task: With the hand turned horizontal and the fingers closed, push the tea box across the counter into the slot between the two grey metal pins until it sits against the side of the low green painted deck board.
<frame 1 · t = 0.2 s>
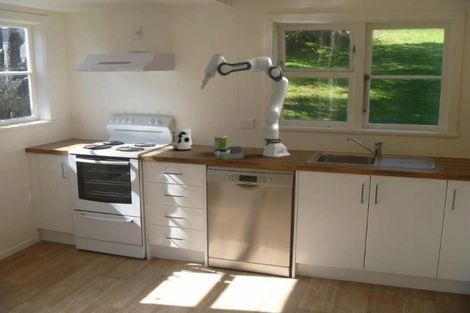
hand: (201, 88, 360), 54 cm above the worktop, tool tilted 30°, fingers open, 8 cm apart
milk container: (182, 150, 398), on the worktop
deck: (231, 158, 358), on the worktop
tea box: (222, 154, 376), on the worktop
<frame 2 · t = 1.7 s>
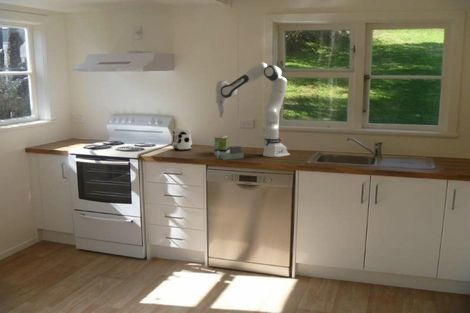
hand: (221, 117, 383), 30 cm above the worktop, tool pointing down, fingers open, 8 cm apart
nothing on the worktop moved.
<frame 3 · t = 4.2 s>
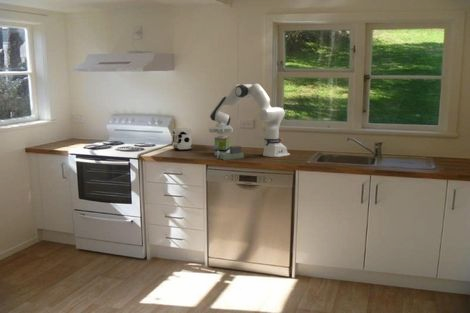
hand: (221, 131, 385), 18 cm above the worktop, tool horizontal, fingers closed
nothing on the worktop moved.
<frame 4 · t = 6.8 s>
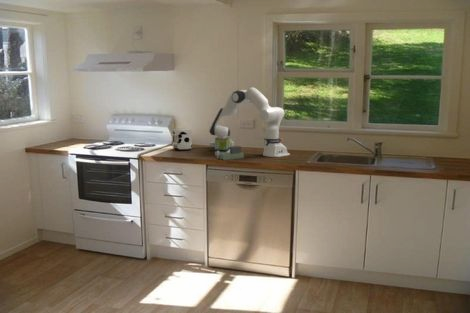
hand: (222, 145, 382), 6 cm above the worktop, tool horizontal, fingers closed
tea box: (222, 154, 375), on the worktop, touching gripper
everything else where it was.
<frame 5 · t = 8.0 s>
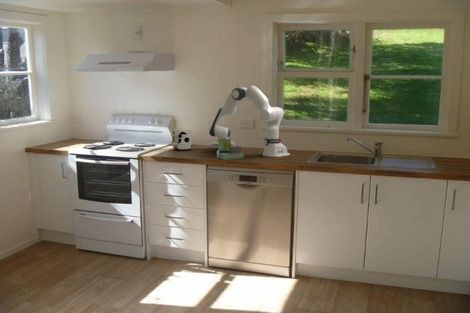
hand: (222, 146, 375), 6 cm above the worktop, tool horizontal, fingers closed, pressing on tea box
tea box: (224, 155, 369), on the worktop, touching gripper
everything else where it was.
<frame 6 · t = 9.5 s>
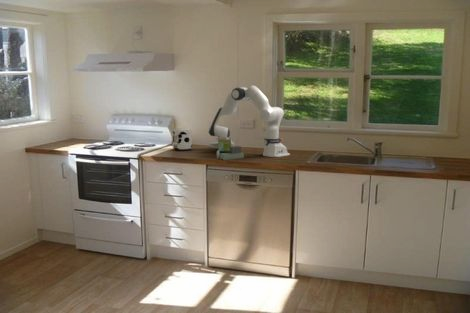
hand: (222, 146, 375), 7 cm above the worktop, tool horizontal, fingers closed
tea box: (224, 156, 368), on the worktop
everything else where it was.
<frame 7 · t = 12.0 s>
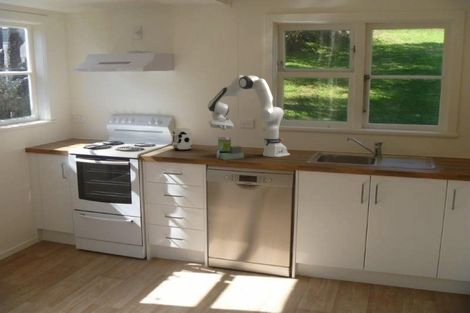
hand: (223, 129, 382), 19 cm above the worktop, tool tilted 65°, fingers closed
nothing on the worktop moved.
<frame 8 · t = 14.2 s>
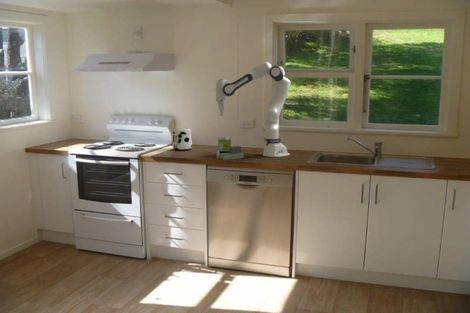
hand: (221, 116, 375), 31 cm above the worktop, tool pointing down, fingers closed
nothing on the worktop moved.
at the end: tea box inside the target area (2.0 cm from its centre), on the worktop; tea box tilted 0°; tea box moved 7.9 cm from its start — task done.
